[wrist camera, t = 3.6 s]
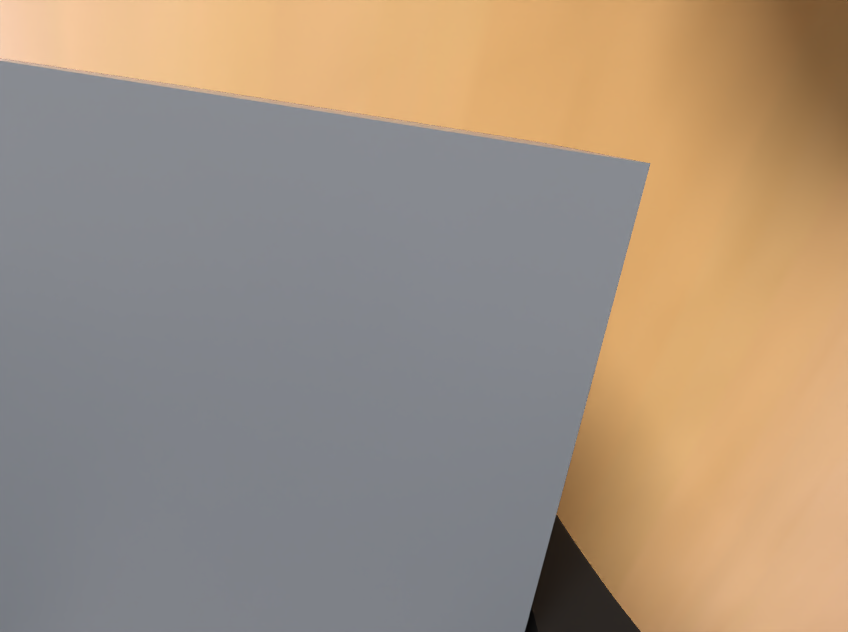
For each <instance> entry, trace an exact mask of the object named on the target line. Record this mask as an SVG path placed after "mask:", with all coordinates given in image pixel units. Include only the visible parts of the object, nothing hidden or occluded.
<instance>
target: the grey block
mask: <svg viewBox="0 0 848 632" xmlns="http://www.w3.org/2000/svg"><path fill="white" fill-rule="evenodd" d="M649 166H650V163H645V162H640V161H635V160H630V159H625V158H619V157H614V156H609V155H604V154H599V153H593V152H588V151H583V150H578V149H573V148H568V147H562V146H557V145H552V144H547V143H542V142H536V141H529V140H523V139H517V138H510V137H504V136H498V135H491V134H485V133H479V132H472V131H466V130H460V129H453V128H447V127H441V126H434V125H428V124H422V123H415V122H409V121H403V120H396V119H390V118H384V117H377V116H371V115H365V114H358V113H352V112H346V111H339V110H333V109H327V108H320V107H314V106H308V105H301V104H295V103H289V102H282V101H276V100H270V99H263V98H257V97H251V96H244V95H238V94H232V93H225V92H219V91H213V90H206V89H200V88H194V87H187V86H181V85H174V84H168V83H161V82H154V81H148V80H141V79H134V78H128V77H121V76H114V75H108V74H101V73H94V72H88V71H81V70H74V69H68V68H61V67H54V66H48V65H41V64H34V63H28V62H21V61H14V60H8V59H1V58H0V632H525V629H526V625H527V621H528V618H529V614H530V610H531V607H532V603H533V599H534V595H535V592H536V588H537V584H538V580H539V577H540V573H541V569H542V566H543V562H544V558H545V554H546V551H547V547H548V543H549V539H550V536H551V532H552V528H553V525H554V521H555V517H556V513H557V510H558V506H559V502H560V498H561V495H562V491H563V487H564V483H565V480H566V476H567V472H568V469H569V465H570V461H571V457H572V454H573V450H574V446H575V442H576V439H577V435H578V431H579V428H580V424H581V420H582V416H583V413H584V409H585V405H586V401H587V398H588V394H589V390H590V387H591V383H592V379H593V375H594V372H595V368H596V364H597V360H598V357H599V353H600V349H601V346H602V342H603V338H604V334H605V331H606V327H607V323H608V319H609V316H610V312H611V308H612V304H613V301H614V297H615V293H616V290H617V286H618V282H619V278H620V275H621V271H622V267H623V263H624V260H625V256H626V252H627V249H628V245H629V241H630V237H631V234H632V230H633V226H634V222H635V219H636V215H637V211H638V208H639V204H640V200H641V196H642V193H643V189H644V185H645V181H646V178H647V174H648V170H649Z"/></svg>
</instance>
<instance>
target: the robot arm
mask: <svg viewBox="0 0 848 632" xmlns="http://www.w3.org/2000/svg"><path fill="white" fill-rule="evenodd" d="M525 632H641V631H640V630H639V629H638V628H637V626H636V625H635V624H634V623H633V621H632V620H631V619H630V618H629V616H628V615H627V614H626V613H625V611H624V610H623V609H622V608H621V606H620V605H619V604H618V602H617V601H616V600H615V598H614V597H613V596H612V594H611V593H610V592H609V590H608V589H607V588H606V586H605V585H604V583H603V582H602V581H601V579H600V578H599V576H598V575H597V574H596V572H595V571H594V569H593V568H592V567H591V565H590V564H589V562H588V561H587V560H586V558H585V557H584V555H583V554H582V552H581V551H580V549H579V548H578V546H577V545H576V544H575V542H574V541H573V539H572V538H571V536H570V535H569V533H568V531H567V530H566V528H565V527H564V525H563V524H562V522H561V521H560V519H559V518H558V516H557V515H556V517H555V521H554V525H553V528H552V532H551V536H550V539H549V543H548V547H547V551H546V554H545V558H544V562H543V566H542V569H541V573H540V577H539V580H538V584H537V588H536V592H535V595H534V599H533V603H532V607H531V610H530V614H529V618H528V621H527V625H526V629H525Z"/></svg>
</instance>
